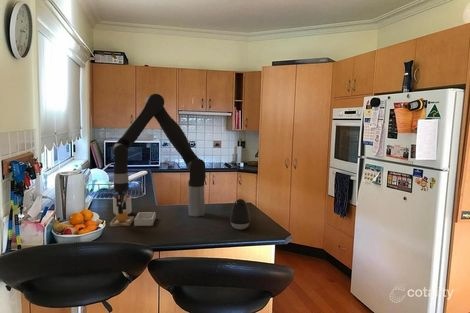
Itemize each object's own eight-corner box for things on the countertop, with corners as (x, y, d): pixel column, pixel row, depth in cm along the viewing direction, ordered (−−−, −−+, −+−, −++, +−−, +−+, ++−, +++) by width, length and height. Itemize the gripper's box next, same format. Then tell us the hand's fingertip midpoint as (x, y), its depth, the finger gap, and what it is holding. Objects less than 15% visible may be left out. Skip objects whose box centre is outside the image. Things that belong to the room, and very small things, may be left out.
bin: (155, 218, 185) (155, 212, 185) (152, 225, 172) (152, 219, 171) (138, 218, 184) (138, 212, 184) (134, 226, 171) (134, 219, 170)
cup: (126, 216, 188) (125, 199, 187) (110, 215, 190) (109, 198, 189) (134, 212, 198) (134, 195, 197) (119, 211, 200) (119, 194, 199)
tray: (133, 219, 183) (133, 216, 183) (129, 225, 171) (129, 223, 171) (115, 219, 182) (115, 217, 182) (109, 226, 170) (109, 223, 170)
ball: (129, 219, 180) (128, 209, 179) (126, 223, 174) (126, 212, 173) (117, 220, 179) (117, 209, 178) (115, 223, 173) (114, 212, 172)
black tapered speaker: (233, 232, 163) (233, 201, 161) (227, 225, 173) (228, 197, 171) (252, 230, 166) (253, 200, 164) (246, 224, 176) (246, 196, 174)
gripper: (125, 183, 167) (127, 215, 169) (131, 179, 182) (132, 207, 183) (110, 184, 167) (111, 215, 168) (116, 179, 181) (118, 208, 182)
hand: (122, 211), depth 176 cm, fingers open, 8 cm apart
